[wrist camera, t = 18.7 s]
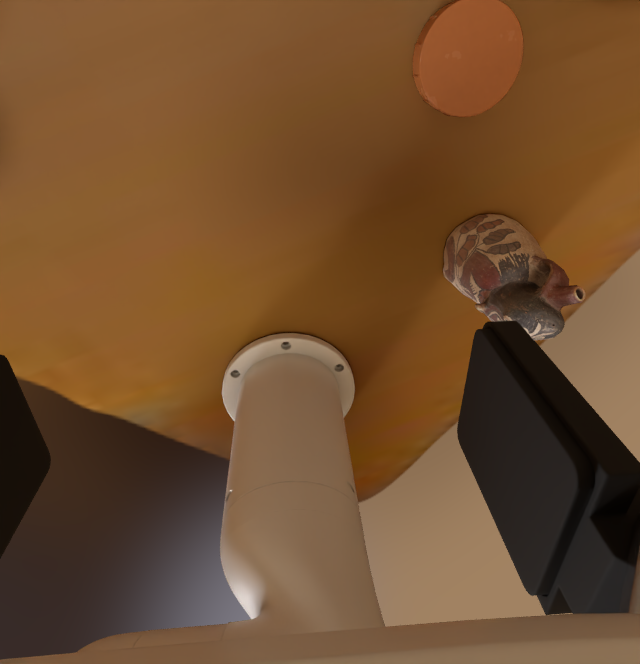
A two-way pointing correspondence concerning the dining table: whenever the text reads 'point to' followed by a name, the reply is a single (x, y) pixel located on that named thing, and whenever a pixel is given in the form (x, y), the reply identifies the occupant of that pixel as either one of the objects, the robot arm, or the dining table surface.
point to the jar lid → (468, 56)
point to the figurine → (508, 275)
